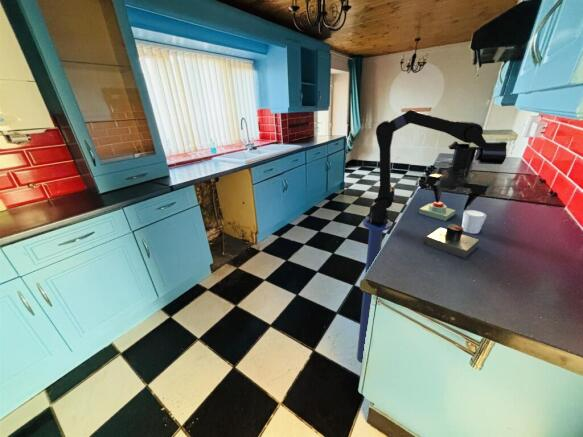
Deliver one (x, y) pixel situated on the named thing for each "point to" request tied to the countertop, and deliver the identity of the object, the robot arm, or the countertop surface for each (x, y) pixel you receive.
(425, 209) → the pale green button base
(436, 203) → the lock button
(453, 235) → the knob
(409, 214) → the countertop surface
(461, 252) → the panel
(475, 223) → the white tapered cup
